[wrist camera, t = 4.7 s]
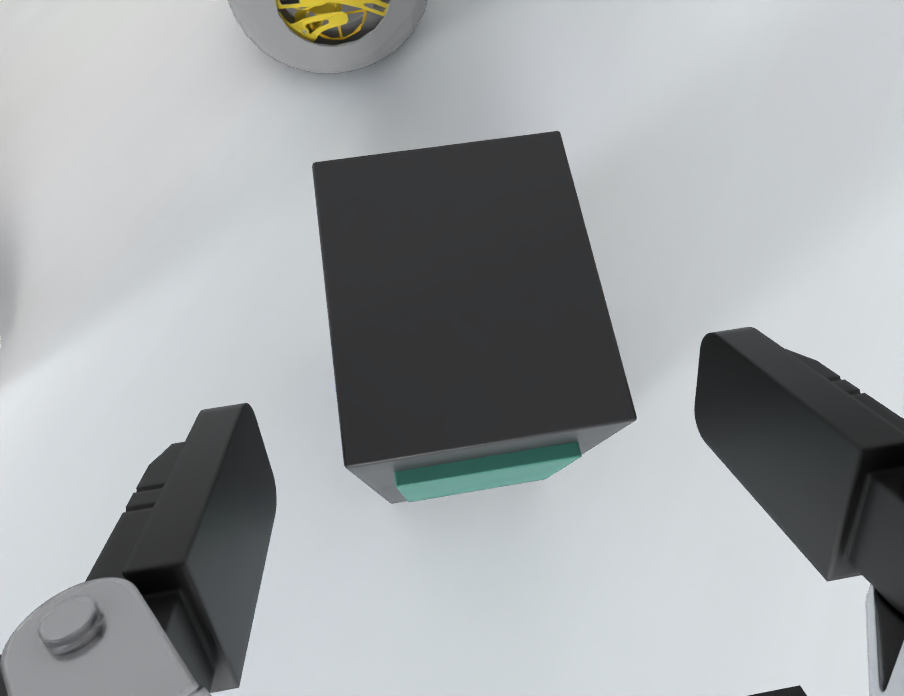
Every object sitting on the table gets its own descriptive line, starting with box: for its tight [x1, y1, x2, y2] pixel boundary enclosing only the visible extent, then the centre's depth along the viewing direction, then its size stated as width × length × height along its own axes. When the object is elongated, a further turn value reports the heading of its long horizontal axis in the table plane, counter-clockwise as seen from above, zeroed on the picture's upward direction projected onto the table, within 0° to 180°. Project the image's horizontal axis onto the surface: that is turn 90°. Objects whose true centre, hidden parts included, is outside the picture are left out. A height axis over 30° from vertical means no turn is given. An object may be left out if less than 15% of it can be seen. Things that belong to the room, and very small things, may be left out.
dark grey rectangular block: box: [312, 131, 637, 503], centre depth 15 cm, size 6×5×9 cm
